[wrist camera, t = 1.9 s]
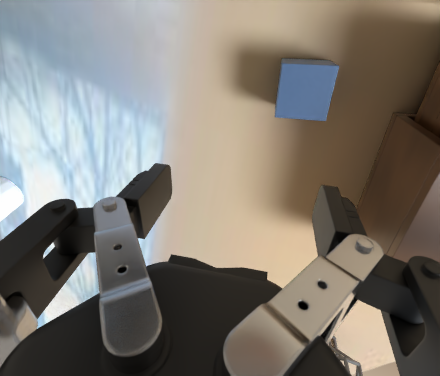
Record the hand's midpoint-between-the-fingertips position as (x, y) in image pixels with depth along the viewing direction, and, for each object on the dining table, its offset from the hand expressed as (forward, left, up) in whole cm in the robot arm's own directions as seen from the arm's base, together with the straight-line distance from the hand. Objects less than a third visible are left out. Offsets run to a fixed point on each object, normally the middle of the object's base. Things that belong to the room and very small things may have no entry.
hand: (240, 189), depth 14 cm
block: (-4, +3, -16) cm, 17 cm away
